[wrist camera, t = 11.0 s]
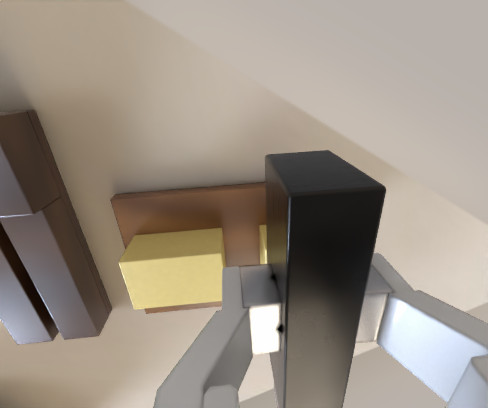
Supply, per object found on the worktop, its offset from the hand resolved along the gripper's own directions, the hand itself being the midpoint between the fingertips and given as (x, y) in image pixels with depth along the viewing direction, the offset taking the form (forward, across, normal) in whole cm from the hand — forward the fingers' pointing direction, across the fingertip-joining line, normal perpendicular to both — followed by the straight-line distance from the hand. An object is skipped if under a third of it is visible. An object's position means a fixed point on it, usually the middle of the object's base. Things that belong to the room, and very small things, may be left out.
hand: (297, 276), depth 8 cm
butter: (+12, +6, +8) cm, 15 cm away
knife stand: (+13, +18, +5) cm, 23 cm away
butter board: (+13, +4, +8) cm, 16 cm away
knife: (+4, 0, +4) cm, 6 cm away
